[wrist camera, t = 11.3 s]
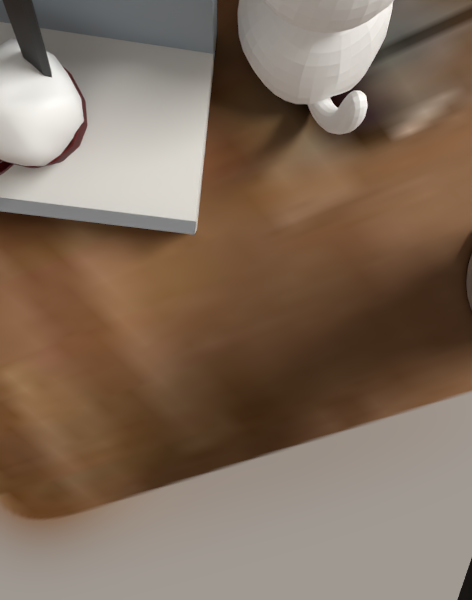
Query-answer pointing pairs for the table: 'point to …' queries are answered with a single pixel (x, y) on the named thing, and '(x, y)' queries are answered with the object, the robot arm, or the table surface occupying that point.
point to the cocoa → (36, 97)
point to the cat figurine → (315, 52)
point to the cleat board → (126, 113)
